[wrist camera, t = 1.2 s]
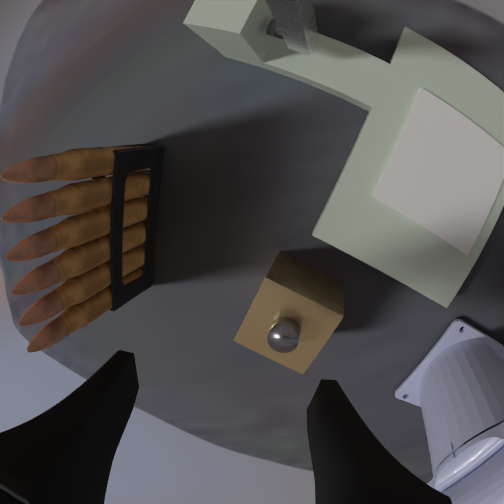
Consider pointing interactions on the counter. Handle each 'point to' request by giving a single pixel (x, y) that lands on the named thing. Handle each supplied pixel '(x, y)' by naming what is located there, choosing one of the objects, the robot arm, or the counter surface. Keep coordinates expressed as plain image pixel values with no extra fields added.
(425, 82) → the frame
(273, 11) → the lever
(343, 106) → the counter surface
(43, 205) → the ammunition clip
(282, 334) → the housing
